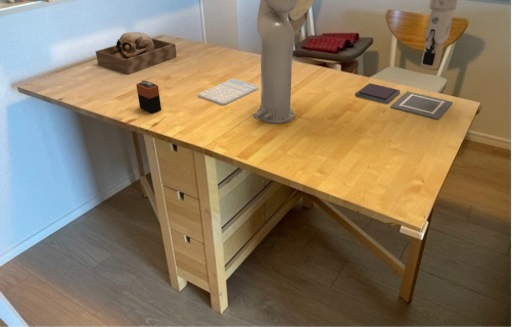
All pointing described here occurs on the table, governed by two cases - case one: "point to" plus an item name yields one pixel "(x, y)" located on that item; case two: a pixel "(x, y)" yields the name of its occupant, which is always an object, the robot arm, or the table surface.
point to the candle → (437, 56)
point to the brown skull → (133, 45)
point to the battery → (148, 96)
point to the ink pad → (377, 93)
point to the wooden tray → (136, 58)
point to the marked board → (422, 105)
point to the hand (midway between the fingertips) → (430, 61)
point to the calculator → (228, 92)
